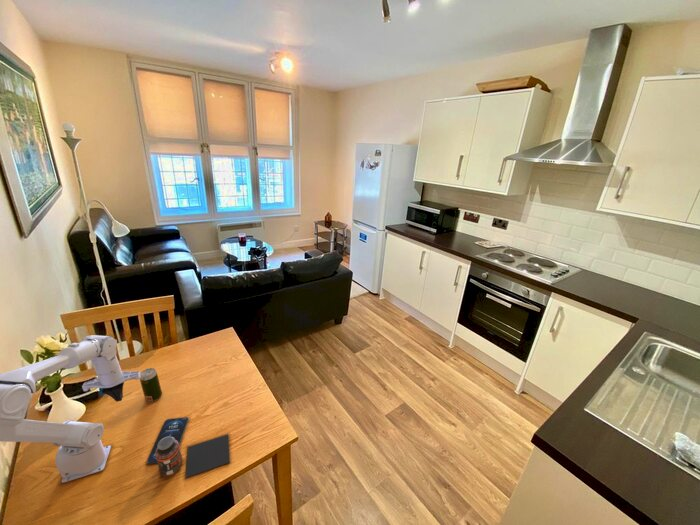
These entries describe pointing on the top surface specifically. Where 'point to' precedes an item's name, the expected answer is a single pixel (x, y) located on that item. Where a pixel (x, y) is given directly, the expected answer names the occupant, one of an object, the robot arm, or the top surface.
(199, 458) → the mat
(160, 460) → the supplement bottle
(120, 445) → the top surface
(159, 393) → the beer can
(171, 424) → the smartphone
